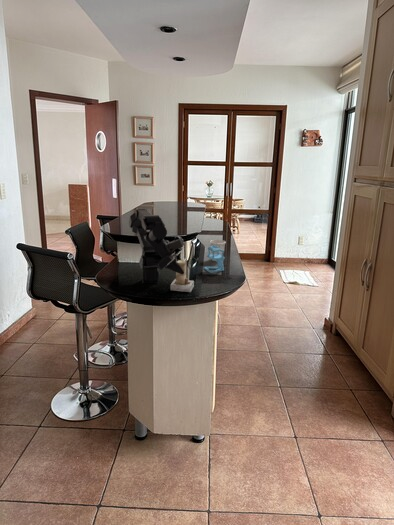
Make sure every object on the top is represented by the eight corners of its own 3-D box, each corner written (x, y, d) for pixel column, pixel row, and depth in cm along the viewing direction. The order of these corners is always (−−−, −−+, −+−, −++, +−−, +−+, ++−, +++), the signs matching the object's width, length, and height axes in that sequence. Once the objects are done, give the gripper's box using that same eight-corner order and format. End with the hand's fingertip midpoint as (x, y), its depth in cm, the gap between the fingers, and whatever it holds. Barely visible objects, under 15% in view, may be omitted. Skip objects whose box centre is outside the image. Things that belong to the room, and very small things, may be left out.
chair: (226, 272, 175) (227, 247, 172) (210, 273, 172) (211, 248, 168) (219, 267, 182) (220, 243, 178) (203, 268, 179) (205, 244, 175)
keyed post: (175, 288, 151) (176, 262, 148) (177, 285, 154) (178, 260, 151) (186, 289, 150) (187, 263, 147) (188, 286, 153) (189, 261, 150)
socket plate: (170, 290, 149) (170, 284, 149) (174, 284, 156) (174, 278, 155) (190, 292, 148) (190, 286, 147) (193, 286, 155) (194, 280, 154)
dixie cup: (218, 263, 189) (219, 244, 186) (205, 259, 193) (206, 241, 190) (227, 259, 195) (228, 241, 192) (214, 256, 200) (215, 238, 197)
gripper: (165, 236, 137) (193, 266, 138) (178, 226, 155) (202, 254, 156) (145, 254, 141) (173, 284, 142) (160, 243, 158) (184, 270, 160)
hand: (184, 272), depth 150 cm, fingers closed on keyed post, 3 cm apart
